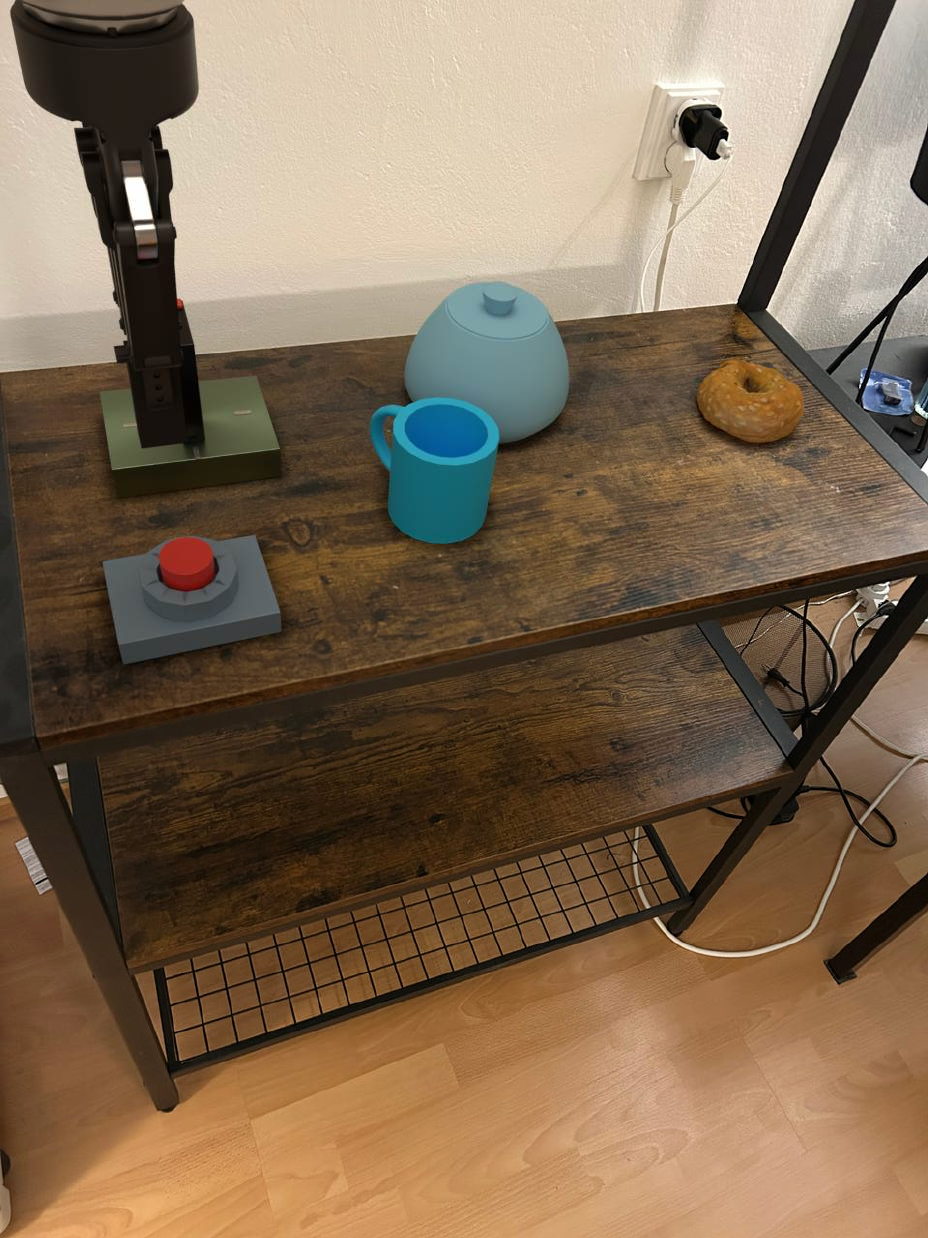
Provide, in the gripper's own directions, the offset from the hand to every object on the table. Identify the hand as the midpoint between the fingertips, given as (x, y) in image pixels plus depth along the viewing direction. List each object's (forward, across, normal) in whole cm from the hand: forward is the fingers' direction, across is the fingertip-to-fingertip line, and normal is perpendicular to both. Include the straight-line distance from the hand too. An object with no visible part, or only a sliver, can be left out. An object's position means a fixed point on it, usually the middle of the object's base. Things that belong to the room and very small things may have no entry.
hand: (162, 437), depth 59 cm
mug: (+15, +7, -20) cm, 26 cm away
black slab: (+12, +17, -4) cm, 21 cm away
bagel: (+15, +11, -55) cm, 58 cm away
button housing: (+15, 0, 0) cm, 15 cm away
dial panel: (+15, +17, -4) cm, 23 cm away
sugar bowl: (+15, +18, -30) cm, 38 cm away
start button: (+12, 0, 0) cm, 12 cm away
